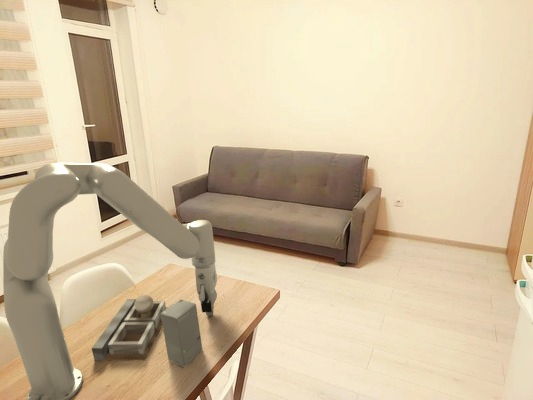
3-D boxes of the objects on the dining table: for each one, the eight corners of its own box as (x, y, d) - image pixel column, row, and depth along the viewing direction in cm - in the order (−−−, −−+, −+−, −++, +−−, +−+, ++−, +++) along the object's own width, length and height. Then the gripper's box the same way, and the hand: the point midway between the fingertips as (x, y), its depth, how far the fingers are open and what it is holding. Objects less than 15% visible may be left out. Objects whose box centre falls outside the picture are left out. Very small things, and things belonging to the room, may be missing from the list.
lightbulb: (210, 323, 112) (207, 294, 109) (197, 317, 115) (193, 289, 112) (222, 313, 117) (219, 285, 113) (209, 308, 120) (206, 280, 117)
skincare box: (184, 368, 94) (177, 320, 89) (166, 360, 98) (158, 313, 93) (204, 348, 101) (198, 303, 96) (186, 341, 104) (179, 297, 100)
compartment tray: (145, 360, 98) (139, 331, 95) (94, 360, 99) (87, 332, 96) (170, 309, 121) (166, 285, 118) (129, 309, 121) (124, 285, 118)
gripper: (209, 271, 101) (215, 322, 107) (219, 246, 117) (223, 291, 123) (184, 271, 101) (191, 322, 107) (198, 246, 118) (203, 291, 123)
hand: (208, 305), depth 115 cm, fingers closed on lightbulb, 5 cm apart
